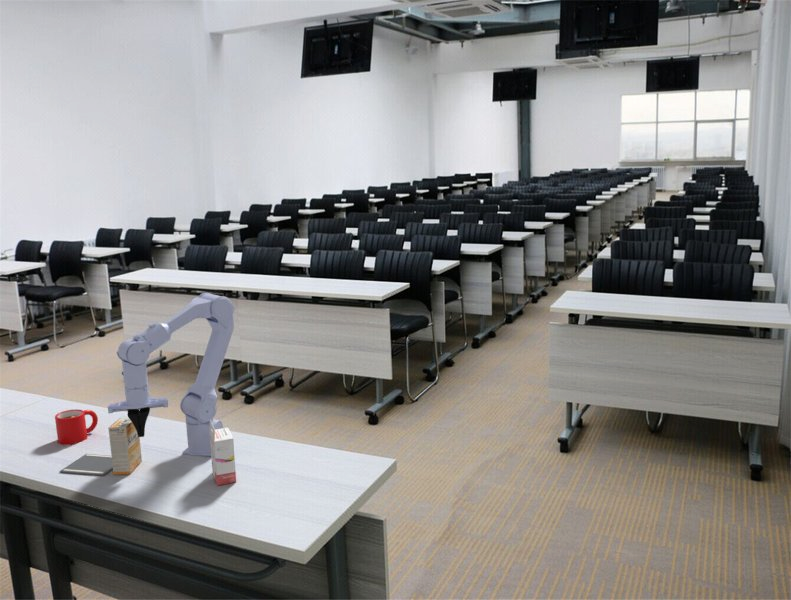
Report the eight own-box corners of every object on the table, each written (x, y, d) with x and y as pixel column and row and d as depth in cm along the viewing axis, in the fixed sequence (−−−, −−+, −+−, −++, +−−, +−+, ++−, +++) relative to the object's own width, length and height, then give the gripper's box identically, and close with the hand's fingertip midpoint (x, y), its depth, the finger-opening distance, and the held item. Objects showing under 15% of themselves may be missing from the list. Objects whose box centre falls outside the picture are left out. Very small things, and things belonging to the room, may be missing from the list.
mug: (105, 433, 208) (102, 408, 207) (67, 446, 199) (63, 420, 197) (91, 427, 213) (88, 403, 211) (52, 440, 203) (49, 415, 202)
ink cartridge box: (237, 482, 174) (233, 427, 171) (217, 486, 173) (212, 430, 170) (231, 468, 182) (227, 415, 179) (212, 472, 180) (207, 418, 177)
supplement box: (131, 474, 180) (126, 427, 177) (112, 475, 180) (107, 427, 177) (143, 461, 188) (138, 415, 185) (125, 461, 188) (120, 415, 186)
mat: (128, 458, 190) (128, 456, 190) (103, 476, 180) (103, 474, 179) (86, 455, 193) (86, 453, 193) (59, 472, 182) (59, 470, 182)
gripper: (166, 378, 184) (171, 426, 187) (108, 384, 180) (113, 433, 183) (165, 386, 177) (170, 436, 180) (104, 392, 174) (110, 443, 176)
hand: (141, 435), depth 181 cm, fingers closed
